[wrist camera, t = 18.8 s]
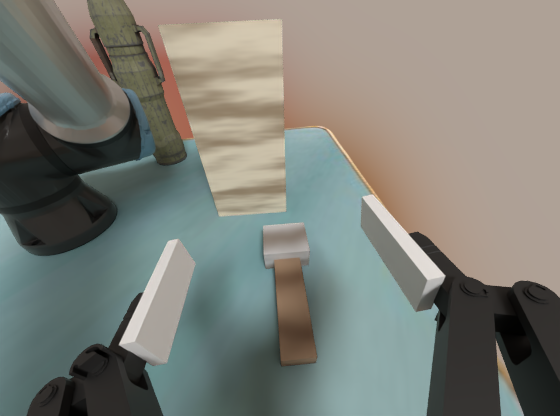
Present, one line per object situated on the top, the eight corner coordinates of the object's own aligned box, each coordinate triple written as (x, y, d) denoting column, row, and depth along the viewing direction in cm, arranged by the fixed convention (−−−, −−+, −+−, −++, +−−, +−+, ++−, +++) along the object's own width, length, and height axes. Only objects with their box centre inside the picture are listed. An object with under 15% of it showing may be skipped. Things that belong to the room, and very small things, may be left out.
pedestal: (286, 211, 44) (281, 19, 24) (219, 216, 43) (157, 25, 23) (282, 184, 51) (276, 20, 31) (225, 188, 51) (182, 24, 31)
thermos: (154, 154, 66) (79, -2, 43) (192, 149, 68) (141, -4, 45) (147, 168, 60) (55, -7, 36) (190, 162, 61) (128, -9, 38)
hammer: (328, 362, 24) (332, 352, 22) (268, 368, 24) (265, 358, 22) (302, 237, 39) (303, 222, 36) (265, 240, 38) (263, 225, 36)
